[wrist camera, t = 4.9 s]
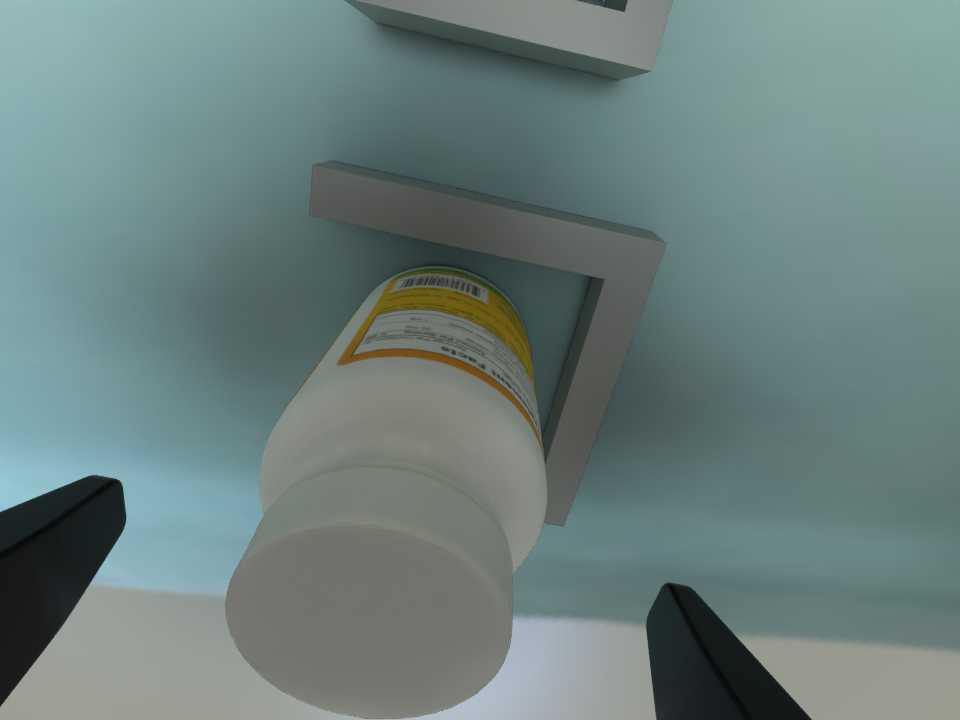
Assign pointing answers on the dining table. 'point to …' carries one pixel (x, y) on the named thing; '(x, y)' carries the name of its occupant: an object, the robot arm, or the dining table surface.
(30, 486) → the dining table surface
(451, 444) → the supplement bottle
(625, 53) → the grey angular frames
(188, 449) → the dining table surface
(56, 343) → the dining table surface
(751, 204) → the dining table surface
